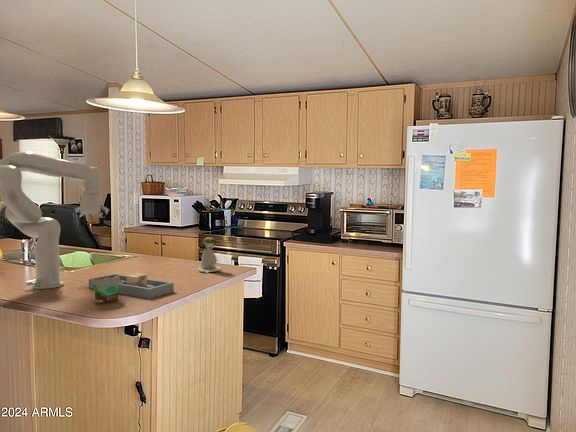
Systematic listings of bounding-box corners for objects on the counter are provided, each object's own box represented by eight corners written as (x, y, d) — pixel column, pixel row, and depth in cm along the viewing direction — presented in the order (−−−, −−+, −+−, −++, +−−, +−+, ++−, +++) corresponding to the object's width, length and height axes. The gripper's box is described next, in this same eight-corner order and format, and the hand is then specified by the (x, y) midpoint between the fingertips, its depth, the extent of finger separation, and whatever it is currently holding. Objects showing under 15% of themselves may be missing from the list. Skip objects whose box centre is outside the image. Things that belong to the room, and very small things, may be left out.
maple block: (136, 288, 193) (136, 277, 192) (126, 286, 196) (126, 275, 195) (146, 285, 198) (146, 274, 198) (137, 284, 201) (137, 273, 201)
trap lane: (149, 298, 184) (149, 289, 183) (88, 287, 202) (88, 279, 202) (173, 291, 196) (173, 282, 196) (114, 282, 214) (114, 273, 214)
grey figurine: (196, 273, 236) (195, 238, 235) (200, 268, 249) (200, 235, 248) (218, 273, 236) (218, 238, 235) (222, 268, 249) (222, 235, 248)
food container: (105, 306, 172) (104, 280, 171) (92, 304, 174) (92, 279, 174) (127, 298, 184) (127, 274, 183) (115, 297, 186) (115, 273, 185)
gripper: (71, 191, 222) (71, 225, 223) (104, 191, 221) (105, 226, 222) (79, 191, 230) (79, 224, 231) (111, 191, 228) (112, 225, 229)
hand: (92, 225), depth 226 cm, fingers open, 9 cm apart
